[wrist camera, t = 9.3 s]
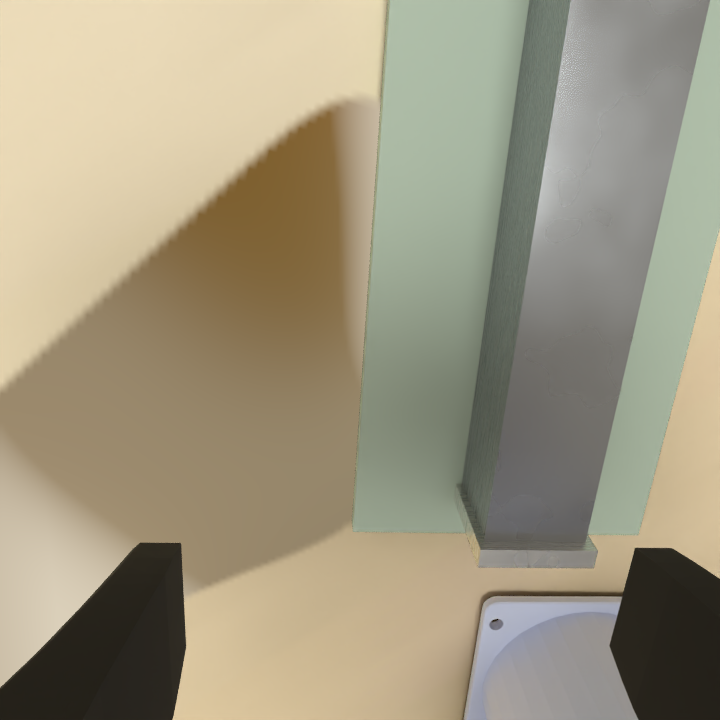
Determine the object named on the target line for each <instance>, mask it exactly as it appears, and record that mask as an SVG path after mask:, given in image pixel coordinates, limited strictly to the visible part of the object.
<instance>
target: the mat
mask: <svg viewBox="0 0 720 720" xmlns="http://www.w3.org/2000/svg"><path fill="white" fill-rule="evenodd" d="M528 5H529V0H388V4H387V19H386V33H385V48H384V62H383V77H382V92H381V106H380V121H379V135H378V150H377V165H376V179H375V194H374V208H373V223H372V239H371V253H370V268H369V281H368V296H367V311H366V326H365V339H364V354H363V368H362V383H361V397H360V398H361V399H360V412H359V426H358V442H357V456H356V470H355V471H356V472H355V485H354V499H353V514H352V527H353V532H413V533H466V532H465V530H464V527H463V524H462V521H461V518H460V516H459V513H458V510H457V507H456V504H455V501H454V493H455V486H456V484H462V478H463V471H464V464H465V457H466V450H467V442H468V435H469V428H470V421H471V414H472V407H473V399H474V392H475V385H476V378H477V371H478V364H479V356H480V349H481V342H482V335H483V328H484V321H485V313H486V306H487V299H488V292H489V285H490V278H491V270H492V263H493V256H494V249H495V242H496V235H497V227H498V220H499V213H500V206H501V199H502V192H503V184H504V177H505V170H506V163H507V156H508V149H509V141H510V134H511V127H512V120H513V113H514V105H515V98H516V91H517V84H518V77H519V70H520V62H521V55H522V48H523V41H524V34H525V27H526V19H527V12H528ZM719 229H720V0H710V4H709V8H708V13H707V17H706V21H705V26H704V30H703V34H702V39H701V43H700V47H699V52H698V56H697V60H696V65H695V69H694V73H693V78H692V82H691V86H690V91H689V95H688V100H687V104H686V108H685V113H684V117H683V121H682V126H681V130H680V134H679V139H678V143H677V147H676V152H675V156H674V160H673V165H672V169H671V173H670V178H669V182H668V186H667V191H666V195H665V199H664V204H663V208H662V212H661V217H660V221H659V225H658V230H657V234H656V238H655V243H654V247H653V252H652V256H651V260H650V265H649V269H648V273H647V278H646V282H645V286H644V291H643V295H642V299H641V304H640V308H639V312H638V317H637V321H636V325H635V330H634V334H633V338H632V343H631V347H630V351H629V356H628V360H627V364H626V369H625V373H624V377H623V382H622V386H621V391H620V395H619V399H618V404H617V408H616V412H615V417H614V421H613V425H612V430H611V434H610V438H609V443H608V447H607V451H606V456H605V460H604V464H603V469H602V473H601V477H600V482H599V486H598V490H597V495H596V499H595V503H594V508H593V512H592V516H591V521H590V525H589V529H588V534H587V535H638V534H639V530H640V527H641V523H642V519H643V515H644V511H645V508H646V504H647V500H648V496H649V493H650V489H651V485H652V481H653V478H654V474H655V470H656V466H657V462H658V459H659V455H660V451H661V447H662V444H663V440H664V436H665V432H666V428H667V425H668V421H669V417H670V413H671V410H672V406H673V402H674V398H675V395H676V391H677V387H678V383H679V379H680V376H681V372H682V368H683V364H684V361H685V357H686V353H687V349H688V346H689V342H690V338H691V334H692V330H693V327H694V323H695V319H696V315H697V312H698V308H699V304H700V300H701V296H702V293H703V289H704V285H705V281H706V278H707V274H708V270H709V266H710V263H711V259H712V255H713V251H714V247H715V244H716V240H717V236H718V232H719Z"/></svg>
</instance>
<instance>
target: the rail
mask: <svg viewBox="0 0 720 720" xmlns="http://www.w3.org/2000/svg"><path fill="white" fill-rule="evenodd" d="M709 4H710V0H529V5H528V12H527V19H526V27H525V34H524V41H523V48H522V55H521V62H520V70H519V77H518V84H517V91H516V98H515V105H514V113H513V120H512V127H511V134H510V141H509V149H508V156H507V163H506V170H505V177H504V184H503V192H502V199H501V206H500V213H499V220H498V227H497V235H496V242H495V249H494V256H493V263H492V270H491V278H490V285H489V292H488V299H487V306H486V313H485V321H484V328H483V335H482V342H481V349H480V356H479V364H478V371H477V378H476V385H475V392H474V399H473V407H472V414H471V421H470V428H469V435H468V442H467V450H466V457H465V464H464V471H463V478H462V484H456V486H455V493H454V501H455V504H456V507H457V510H458V513H459V516H460V518H461V521H462V524H463V527H464V530H465V532H466V535H467V538H468V541H469V544H470V547H471V549H472V552H473V555H474V558H475V561H476V563H477V566H478V567H498V568H594V565H595V561H596V557H597V553H598V550H597V549H596V547H595V546H594V544H593V543H592V541H591V539H590V538H589V536H588V535H587V534H588V529H589V525H590V521H591V516H592V512H593V508H594V503H595V499H596V495H597V490H598V486H599V482H600V477H601V473H602V469H603V464H604V460H605V456H606V451H607V447H608V443H609V438H610V434H611V430H612V425H613V421H614V417H615V412H616V408H617V404H618V399H619V395H620V391H621V386H622V382H623V377H624V373H625V369H626V364H627V360H628V356H629V351H630V347H631V343H632V338H633V334H634V330H635V325H636V321H637V317H638V312H639V308H640V304H641V299H642V295H643V291H644V286H645V282H646V278H647V273H648V269H649V265H650V260H651V256H652V252H653V247H654V243H655V238H656V234H657V230H658V225H659V221H660V217H661V212H662V208H663V204H664V199H665V195H666V191H667V186H668V182H669V178H670V173H671V169H672V165H673V160H674V156H675V152H676V147H677V143H678V139H679V134H680V130H681V126H682V121H683V117H684V113H685V108H686V104H687V100H688V95H689V91H690V86H691V82H692V78H693V73H694V69H695V65H696V60H697V56H698V52H699V47H700V43H701V39H702V34H703V30H704V26H705V21H706V17H707V13H708V8H709Z"/></svg>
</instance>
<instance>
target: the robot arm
mask: <svg viewBox="0 0 720 720" xmlns="http://www.w3.org/2000/svg"><path fill="white" fill-rule="evenodd" d="M494 619H499V620H497V621H496V622H491V621H492V620H494ZM185 650H186V637H185V616H184V595H183V575H182V554H181V543H139V544H138V545H137V546H136V547H135V548H134V549H133V550H132V551H131V552H130V553H129V554H128V555H127V556H126V557H125V559H124V560H123V561H122V562H121V563H120V565H119V566H118V567H117V568H116V569H115V570H114V571H113V572H112V573H111V575H110V576H109V577H108V578H107V579H106V580H105V581H104V582H103V583H102V585H101V586H100V587H99V588H98V589H97V590H96V591H95V592H94V594H93V595H92V596H91V597H90V598H89V599H88V600H87V601H86V602H85V603H84V604H83V605H82V607H81V608H80V609H79V610H78V611H77V612H76V613H75V614H74V615H73V616H72V617H71V618H70V619H69V620H68V621H67V622H66V623H65V624H64V625H63V626H62V627H61V629H59V630H58V632H57V633H56V634H55V635H54V636H53V637H52V638H51V639H50V640H49V641H48V642H47V643H46V644H45V645H44V646H43V647H42V648H41V649H40V650H39V651H38V652H37V653H36V654H35V655H34V656H33V657H32V658H31V659H30V660H29V661H28V662H27V663H26V664H25V665H24V666H23V667H21V668H20V669H19V670H18V671H17V672H16V673H15V674H14V675H13V676H12V677H11V678H10V679H9V680H8V681H7V682H6V683H5V684H4V685H3V686H1V688H0V720H172V719H173V715H174V710H175V705H176V700H177V694H178V689H179V684H180V678H181V672H182V667H183V661H184V655H185ZM464 720H720V579H719V578H717V577H716V576H714V575H713V574H711V573H710V572H709V571H707V570H706V569H704V568H702V567H701V566H699V565H698V564H696V563H695V562H693V561H692V560H690V559H689V558H687V557H685V556H684V555H682V554H680V553H679V552H677V551H675V550H674V549H672V548H635V551H634V555H633V558H632V562H631V566H630V570H629V573H628V577H627V581H626V585H625V588H624V592H623V596H622V597H618V596H494V597H491V598H489V599H487V600H486V601H485V602H484V604H483V606H482V612H481V618H480V624H479V630H478V636H477V642H476V648H475V654H474V660H473V666H472V672H471V678H470V684H469V690H468V696H467V702H466V708H465V714H464Z"/></svg>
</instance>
